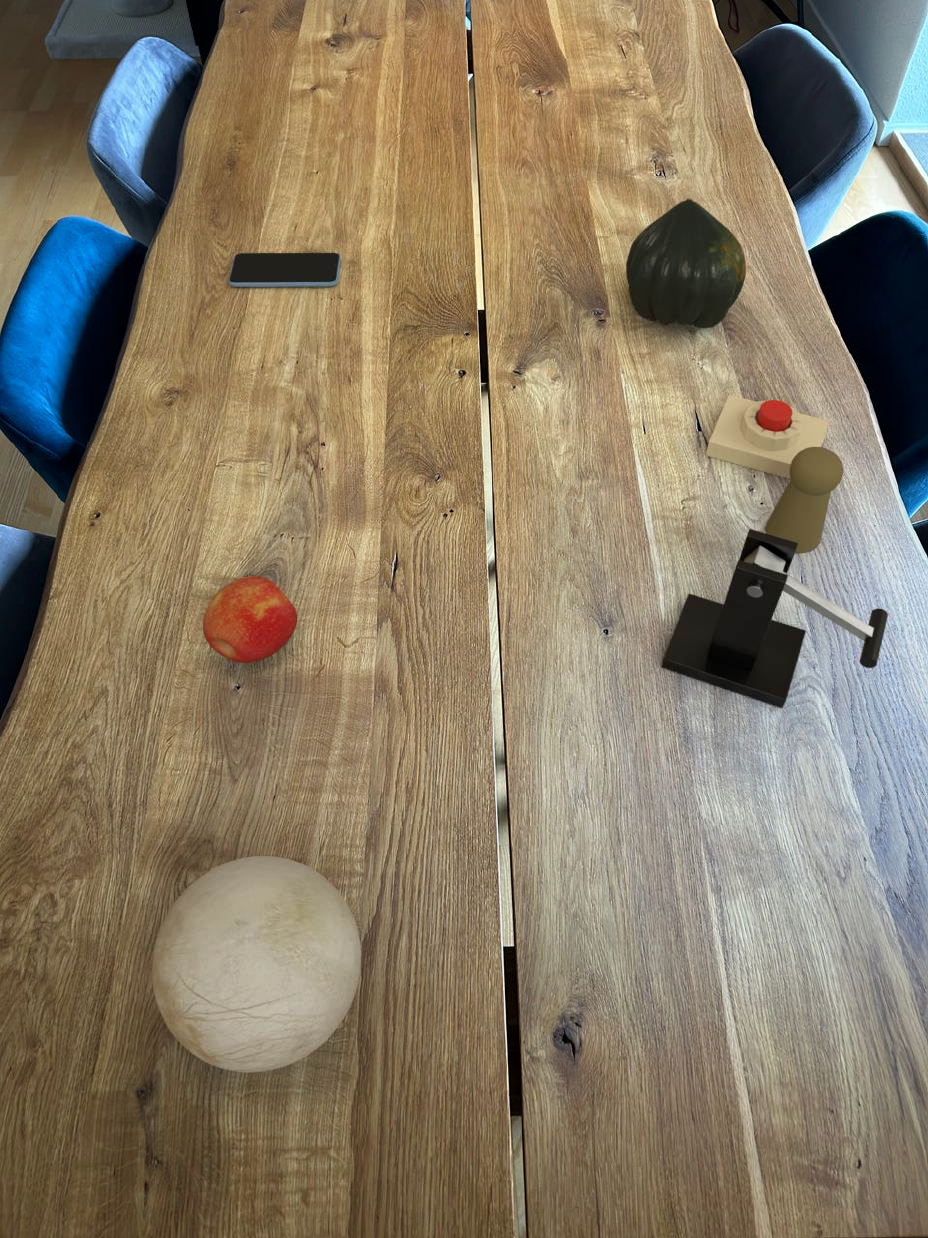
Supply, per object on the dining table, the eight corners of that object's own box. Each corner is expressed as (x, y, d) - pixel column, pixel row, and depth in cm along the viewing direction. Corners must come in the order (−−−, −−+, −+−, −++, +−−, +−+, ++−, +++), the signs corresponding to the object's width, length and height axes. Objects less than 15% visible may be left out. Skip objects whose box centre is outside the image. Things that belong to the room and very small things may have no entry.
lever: (877, 623, 94) (895, 611, 92) (865, 672, 90) (884, 661, 88) (749, 543, 93) (765, 530, 91) (733, 590, 89) (749, 577, 87)
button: (791, 416, 116) (795, 404, 115) (784, 435, 114) (788, 423, 113) (760, 407, 117) (764, 396, 116) (753, 427, 115) (756, 415, 114)
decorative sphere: (405, 1016, 79) (394, 948, 67) (233, 1138, 74) (188, 1089, 62) (309, 868, 87) (283, 784, 75) (147, 970, 82) (92, 897, 70)
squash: (709, 333, 123) (754, 207, 119) (596, 301, 128) (637, 179, 124) (727, 350, 136) (769, 237, 132) (625, 320, 141) (662, 210, 137)
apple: (313, 643, 101) (302, 593, 95) (246, 693, 98) (231, 645, 91) (263, 600, 105) (250, 548, 98) (197, 646, 101) (179, 596, 95)
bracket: (802, 639, 102) (846, 540, 90) (782, 708, 97) (825, 613, 85) (686, 602, 104) (713, 501, 93) (660, 667, 99) (686, 570, 88)
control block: (824, 435, 120) (834, 408, 117) (808, 484, 115) (818, 458, 112) (725, 408, 123) (731, 381, 120) (705, 455, 118) (711, 429, 115)
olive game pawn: (822, 517, 112) (851, 442, 103) (821, 557, 108) (851, 483, 99) (766, 508, 113) (791, 433, 104) (763, 547, 109) (789, 473, 100)
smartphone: (234, 251, 142) (341, 251, 142) (235, 257, 142) (341, 256, 142) (226, 282, 137) (337, 281, 137) (227, 288, 138) (337, 287, 138)
